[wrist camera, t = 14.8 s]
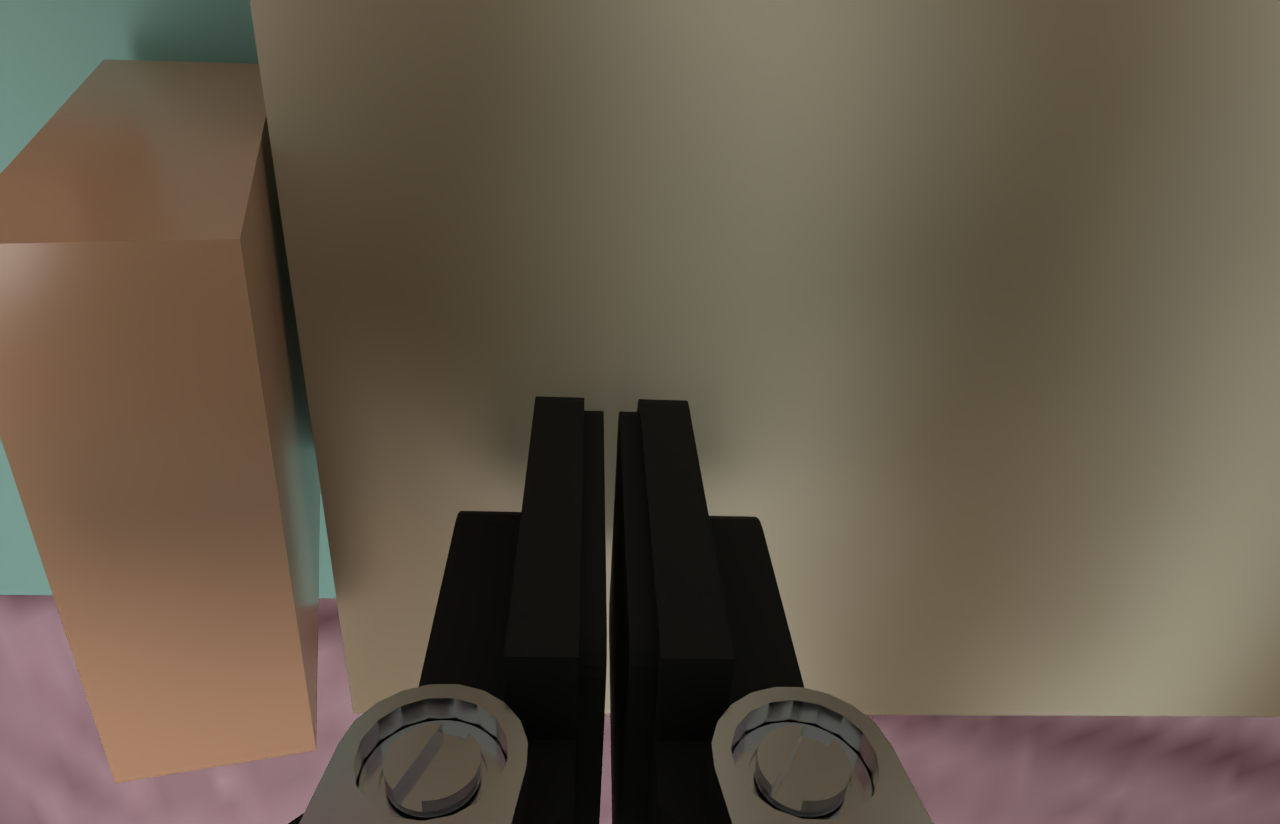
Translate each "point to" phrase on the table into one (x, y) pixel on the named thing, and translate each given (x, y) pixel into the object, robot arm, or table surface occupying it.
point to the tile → (165, 414)
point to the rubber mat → (35, 90)
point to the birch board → (816, 316)
